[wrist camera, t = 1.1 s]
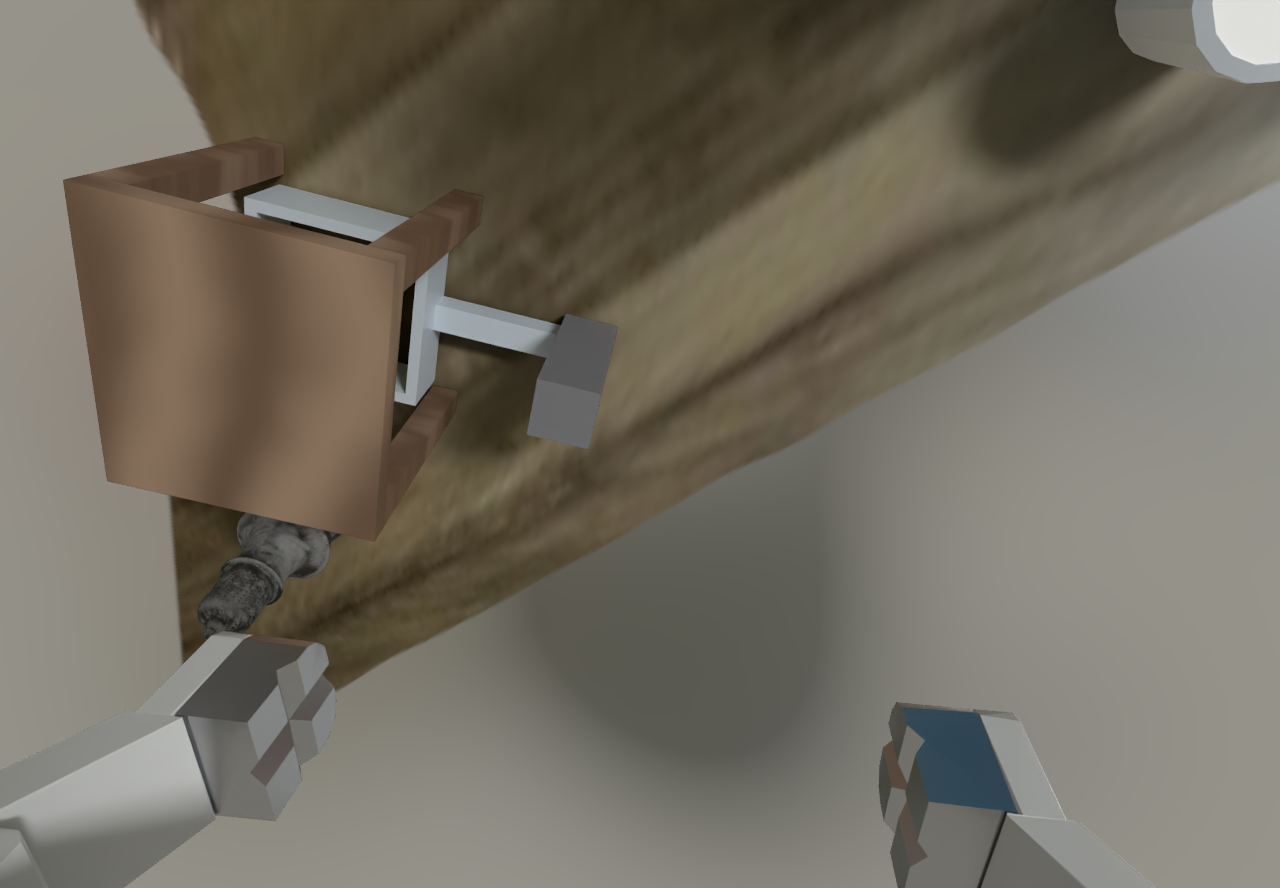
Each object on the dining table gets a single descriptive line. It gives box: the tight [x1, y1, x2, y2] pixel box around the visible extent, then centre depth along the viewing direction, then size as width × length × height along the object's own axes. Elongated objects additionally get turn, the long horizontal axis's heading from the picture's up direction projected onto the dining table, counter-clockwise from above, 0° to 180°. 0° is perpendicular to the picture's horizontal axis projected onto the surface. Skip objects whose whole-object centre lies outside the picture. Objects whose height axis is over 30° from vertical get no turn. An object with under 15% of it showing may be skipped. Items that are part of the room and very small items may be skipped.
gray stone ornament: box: [197, 512, 341, 639], centre depth 44 cm, size 6×6×12 cm
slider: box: [244, 184, 618, 449], centre depth 37 cm, size 19×9×9 cm, turn 76°
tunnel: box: [63, 137, 483, 541], centre depth 35 cm, size 12×13×13 cm
